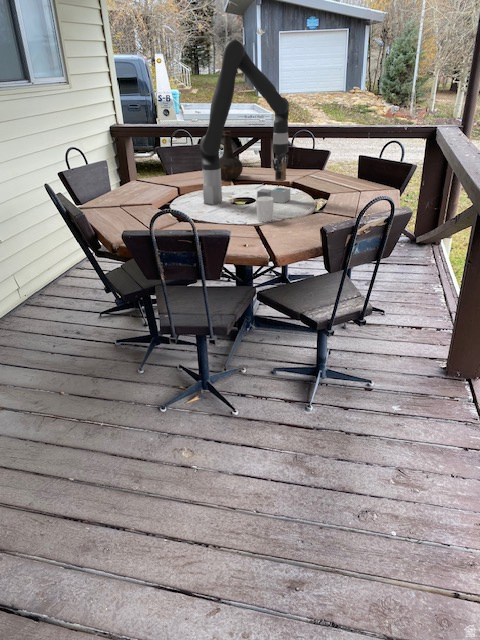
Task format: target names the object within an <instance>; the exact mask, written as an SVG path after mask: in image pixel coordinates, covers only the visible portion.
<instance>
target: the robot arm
mask: <svg viewBox="0 0 480 640" xmlns="http://www.w3.org/2000/svg"><path fill="white" fill-rule="evenodd" d="M238 70H240V71H241V72H242V73H243V74H244V76H245V77H246V78H247V79H248V81H249V82H250V84H252V86H253V88H255V90H256V91H257V92H258V93H259V94H260V96H261V97H262V98H263V99H264V100H265V101H266V103H267V104H268V105H269V107H270V109H271V110H272V111H273V112H274V121H273V136H272V153H274V154H275V157H274V159H272V166H273V171H276V178H277V179H281V167H282V163H283V162H285V161H286V168H287V167H288V163H289V155H288V154H287V153H288V152H289V114H290V113H289V112H290V111H289V110H290V104H289V100H288V98H286V97H282V95H281V94H280V93H279V92H278V90H277V88H276V86H274V84H273V83H272V82H271V80H270V79H269V78H268V77H267V76H266V74H264V73H263V72H262V71H261V70H260V69H259V68H258V67H257V66H256V64H255V63H254V62H253V61H252V59H251V58H250V56H249V55H248V53H247V51H246V50H245V46H244V45H243V44H242V42H241V41H239V40H237V39H231V40H229V41H227V43H226V45H225V46H224V50H223V57H222V63H221V68H220V72H219V75H218V78H217V82H216V84H215V88H214V91H213V94H212V99H211V103H210V110H209V111H210V112H209V123H208V126H207V131H206V134H205V135H203V136H202V138H201V139H200V143H199V146H200V147H199V149H200V162H201V168H202V179H203V180H202V182H203V185H202V191H203V193H202V194H203V195H202V197H203V204H204V203H208V204H207V205H211V204H214V205H219V204H222V203H223V188H222V179H221V166H220V159H219V158H220V152H219V151H220V150H221V144H222V138H223V135H222V134H223V131H224V129H225V125H226V121H227V119H228V116H229V113H230V110H231V105H232V103H233V99H234V93H235V86H236V85H235V84H236V76H237V73H238ZM279 164H280V165H279ZM221 202H222V203H221ZM218 203H219V204H218Z"/></svg>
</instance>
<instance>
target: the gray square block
mask: <svg viewBox="0 0 480 640" xmlns="http://www.w3.org/2000/svg"><path fill="white" fill-rule="evenodd" d="M271 190H272V189H270V188H269V189H267V188H262V189H259V190H258V191H256V198H258V197H263V196H267V197H271Z"/></svg>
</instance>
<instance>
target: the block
mask: <svg viewBox="0 0 480 640" xmlns="http://www.w3.org/2000/svg"><path fill="white" fill-rule="evenodd" d="M279 165H280V164H279ZM274 173H275V176H274V177H275V181H276V182H285V181H286V180H287V167H286V161H285V162H283V163H282V167H281V179H277V178H276V171H275V172H274Z"/></svg>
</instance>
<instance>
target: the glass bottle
mask: <svg viewBox="0 0 480 640" xmlns="http://www.w3.org/2000/svg"><path fill="white" fill-rule="evenodd" d="M222 136H223V149H222V150H223V151H222V152H223V153H222V156H221V157H219V159H220V166H221V180H225V181H226V180H227V181H229V180H231V181H232V180H235V179H238V178H239V177H240V176H241V175H242V173H243V169H244V167H243V163H242V161H241V160H240V159H238V158H237V157H236V156H235V155H234V151H233V144H232V137H231V136H233V134H232V132H231V130H223V133H222Z"/></svg>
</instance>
